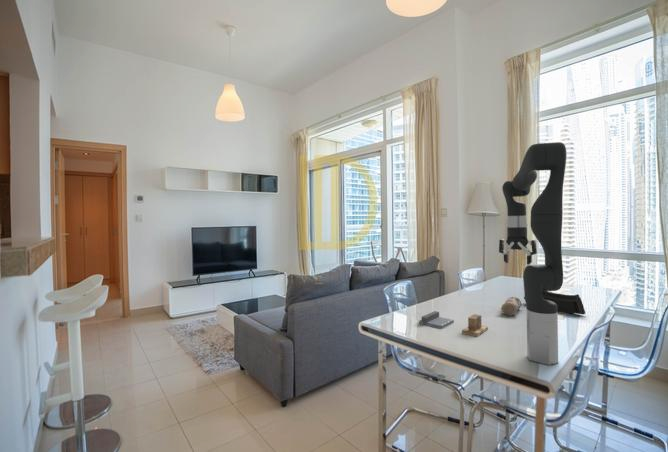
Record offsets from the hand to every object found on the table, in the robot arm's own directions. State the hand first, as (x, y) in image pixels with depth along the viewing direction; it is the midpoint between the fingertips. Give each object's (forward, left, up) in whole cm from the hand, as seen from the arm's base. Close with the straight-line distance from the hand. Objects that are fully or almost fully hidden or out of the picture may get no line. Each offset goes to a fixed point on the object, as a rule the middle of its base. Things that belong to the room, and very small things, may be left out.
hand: (517, 263), depth 140 cm
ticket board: (-11, +33, -30) cm, 46 cm away
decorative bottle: (+35, +12, -30) cm, 48 cm away
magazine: (+51, -3, -30) cm, 59 cm away
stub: (-11, +14, -30) cm, 35 cm away
